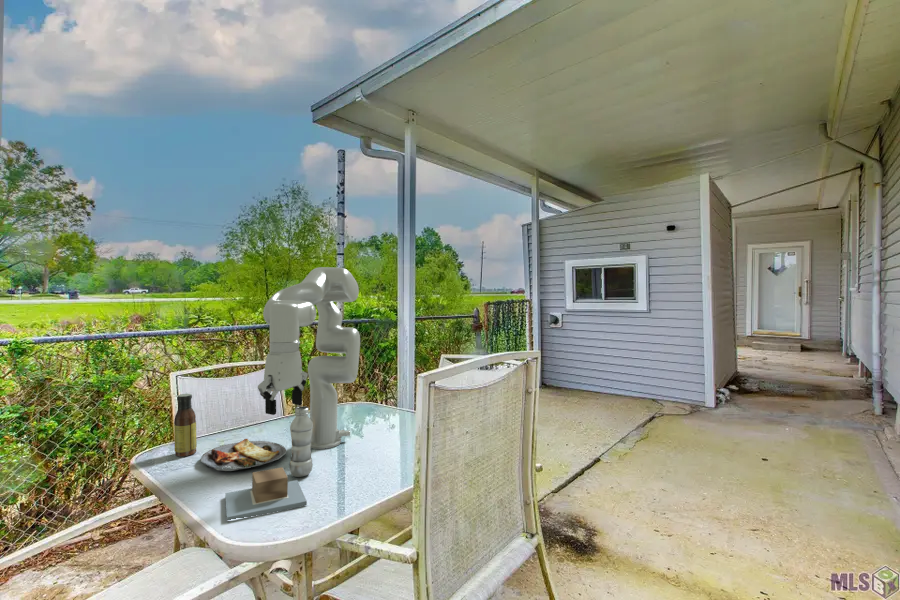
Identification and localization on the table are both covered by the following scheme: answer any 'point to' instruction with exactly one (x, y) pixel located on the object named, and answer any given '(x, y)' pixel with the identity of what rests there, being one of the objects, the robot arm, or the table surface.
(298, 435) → the plastic bottle
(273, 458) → the food plate
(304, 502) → the board
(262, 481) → the block
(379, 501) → the table surface
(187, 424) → the sauce bottle
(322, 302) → the robot arm
